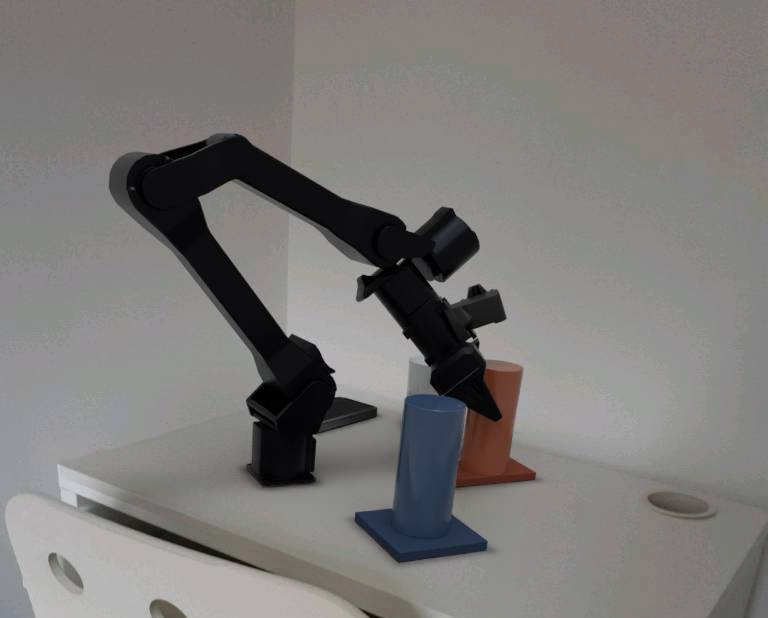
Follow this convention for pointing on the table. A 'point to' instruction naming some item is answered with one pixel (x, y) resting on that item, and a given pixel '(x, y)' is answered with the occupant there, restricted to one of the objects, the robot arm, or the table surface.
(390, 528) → the blue mat
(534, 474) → the terracotta mat
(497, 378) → the terracotta cylinder
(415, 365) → the white cup
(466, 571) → the table surface
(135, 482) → the table surface
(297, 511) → the table surface
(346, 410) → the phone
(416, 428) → the blue cylinder
